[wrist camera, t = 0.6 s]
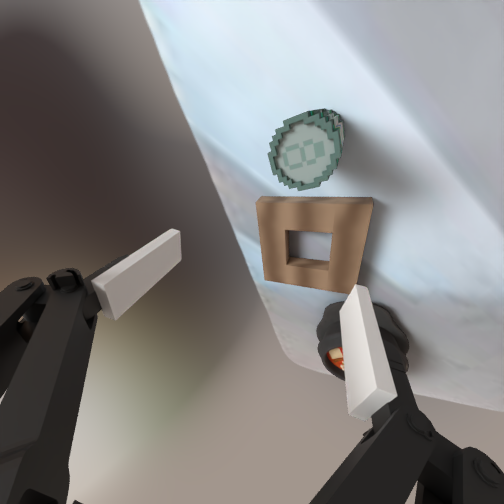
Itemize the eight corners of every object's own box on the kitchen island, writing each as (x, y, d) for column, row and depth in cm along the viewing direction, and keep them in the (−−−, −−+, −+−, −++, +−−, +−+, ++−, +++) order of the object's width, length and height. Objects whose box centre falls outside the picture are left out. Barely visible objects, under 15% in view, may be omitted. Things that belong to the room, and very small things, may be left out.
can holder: (371, 197, 31) (373, 204, 29) (354, 284, 41) (354, 295, 39) (261, 196, 38) (255, 202, 36) (268, 271, 48) (264, 280, 45)
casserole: (405, 371, 49) (414, 410, 43) (325, 358, 58) (322, 389, 52) (408, 295, 38) (420, 333, 32) (308, 293, 47) (301, 322, 41)
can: (346, 151, 29) (343, 181, 18) (303, 163, 32) (278, 195, 21) (341, 102, 26) (334, 100, 15) (295, 119, 29) (261, 129, 18)
